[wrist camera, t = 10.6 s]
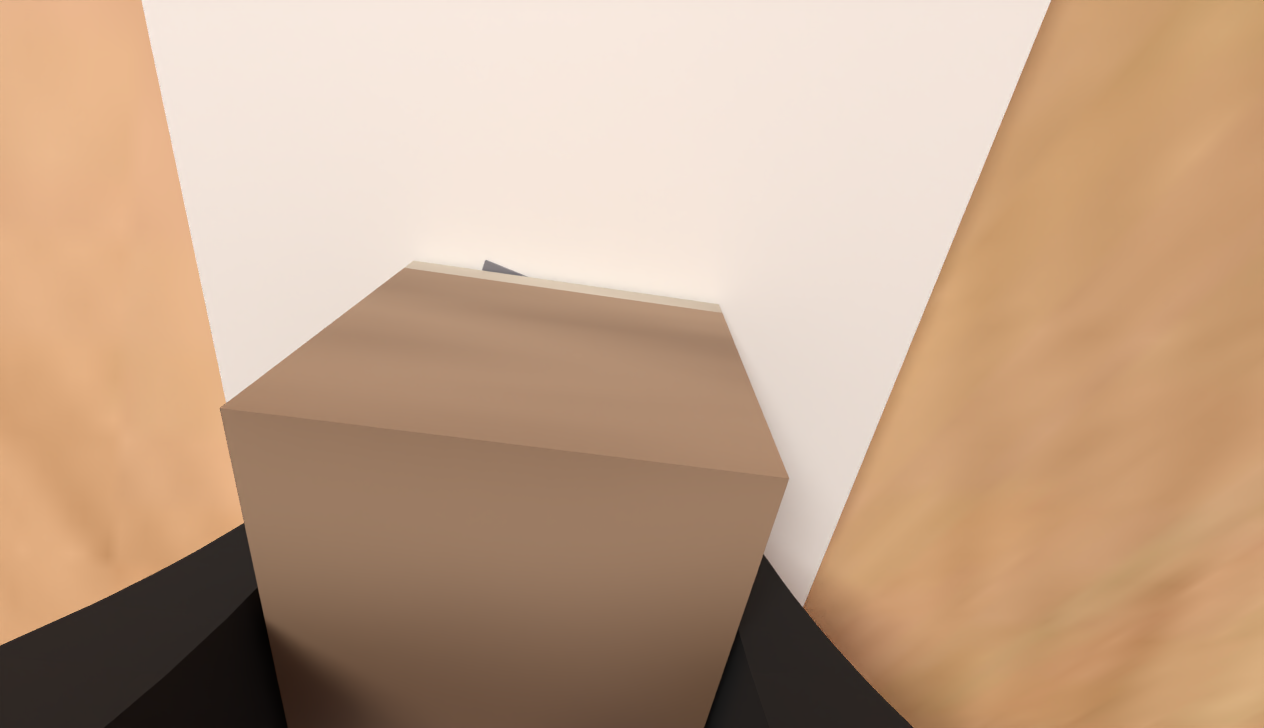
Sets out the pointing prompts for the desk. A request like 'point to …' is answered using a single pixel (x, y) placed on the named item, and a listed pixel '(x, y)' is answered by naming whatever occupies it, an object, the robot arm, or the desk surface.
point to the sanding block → (505, 506)
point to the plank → (601, 175)
